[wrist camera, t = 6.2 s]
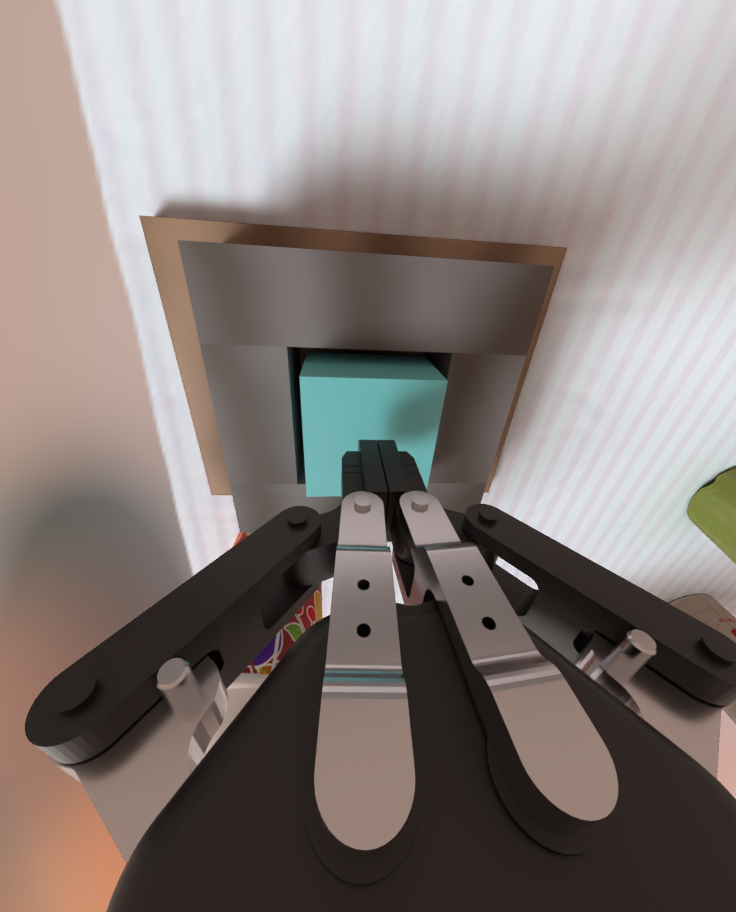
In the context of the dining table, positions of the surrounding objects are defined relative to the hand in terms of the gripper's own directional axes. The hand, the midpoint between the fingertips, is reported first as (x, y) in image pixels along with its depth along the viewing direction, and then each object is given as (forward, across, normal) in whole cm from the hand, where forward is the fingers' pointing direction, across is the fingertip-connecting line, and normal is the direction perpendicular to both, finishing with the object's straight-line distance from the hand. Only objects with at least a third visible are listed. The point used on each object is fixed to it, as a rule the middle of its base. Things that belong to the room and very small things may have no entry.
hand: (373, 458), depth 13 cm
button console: (+10, 0, 0) cm, 10 cm away
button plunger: (+5, 0, 0) cm, 5 cm away
